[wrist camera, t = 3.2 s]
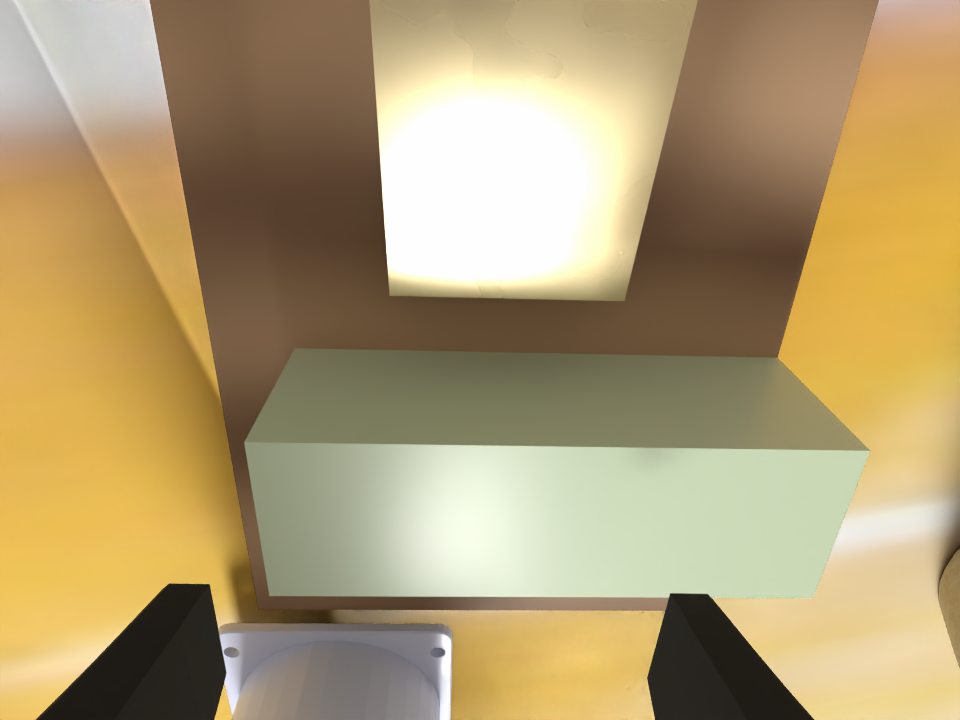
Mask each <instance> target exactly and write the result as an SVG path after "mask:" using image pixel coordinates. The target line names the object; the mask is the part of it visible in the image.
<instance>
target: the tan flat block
mask: <svg viewBox="0 0 960 720" xmlns="http://www.w3.org/2000/svg"><path fill="white" fill-rule="evenodd" d="M697 2H698V0H369V3H370V17H371V32H372V46H373V61H374V75H375V90H376V104H377V119H378V134H379V148H380V163H381V177H382V192H383V206H384V221H385V235H386V250H387V264H388V279H389V293H390V296H420V297H463V298H506V299H549V300H592V301H625V297H626V293H627V288H628V284H629V280H630V276H631V272H632V268H633V264H634V260H635V256H636V252H637V247H638V243H639V239H640V235H641V231H642V227H643V223H644V219H645V215H646V211H647V207H648V202H649V198H650V194H651V190H652V186H653V182H654V178H655V174H656V170H657V166H658V161H659V157H660V153H661V149H662V145H663V141H664V137H665V133H666V129H667V125H668V120H669V116H670V112H671V108H672V104H673V100H674V96H675V92H676V88H677V84H678V79H679V75H680V71H681V67H682V63H683V59H684V55H685V51H686V47H687V43H688V38H689V34H690V30H691V26H692V22H693V18H694V14H695V10H696V6H697Z"/></svg>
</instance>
